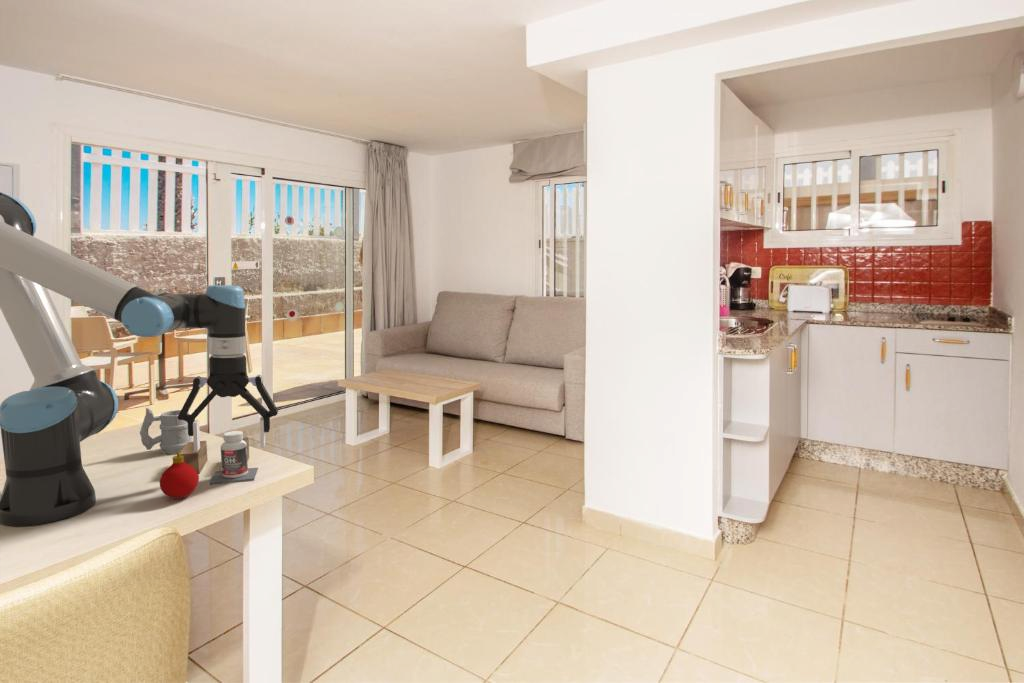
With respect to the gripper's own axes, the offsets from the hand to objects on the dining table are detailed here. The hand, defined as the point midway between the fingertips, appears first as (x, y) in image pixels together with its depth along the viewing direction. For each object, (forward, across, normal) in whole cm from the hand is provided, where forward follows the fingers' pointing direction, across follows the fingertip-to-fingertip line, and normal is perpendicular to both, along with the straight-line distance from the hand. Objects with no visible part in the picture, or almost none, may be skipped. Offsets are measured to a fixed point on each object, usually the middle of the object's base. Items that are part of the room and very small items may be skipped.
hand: (230, 448), depth 134 cm
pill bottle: (+6, +1, 0) cm, 7 cm away
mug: (+7, -18, +25) cm, 32 cm away
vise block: (+7, -4, +9) cm, 12 cm away
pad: (+7, +1, 0) cm, 7 cm away
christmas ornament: (+7, -8, -10) cm, 15 cm away
